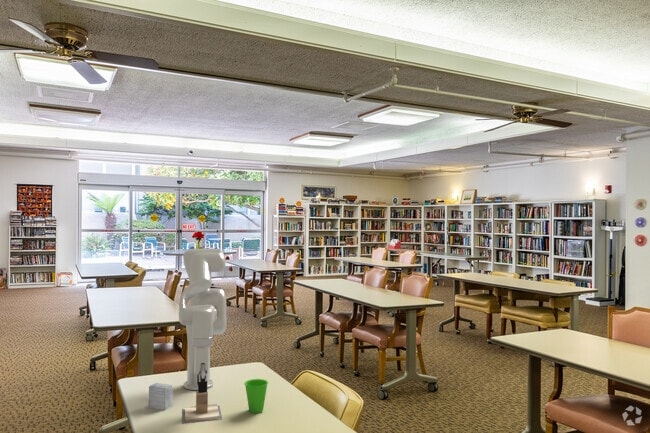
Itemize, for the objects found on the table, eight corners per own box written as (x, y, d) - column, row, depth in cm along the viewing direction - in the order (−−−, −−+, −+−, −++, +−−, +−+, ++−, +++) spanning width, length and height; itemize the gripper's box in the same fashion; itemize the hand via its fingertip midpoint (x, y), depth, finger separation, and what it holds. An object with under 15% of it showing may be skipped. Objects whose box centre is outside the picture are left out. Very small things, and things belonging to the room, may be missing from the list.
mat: (182, 410, 184) (182, 409, 184) (219, 406, 188) (219, 405, 188) (182, 425, 171) (182, 423, 171) (222, 420, 175) (222, 419, 175)
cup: (263, 417, 178) (263, 387, 178) (240, 415, 180) (240, 385, 180) (271, 408, 187) (271, 379, 187) (249, 406, 188) (249, 378, 189)
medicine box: (172, 407, 187) (172, 384, 187) (165, 411, 183) (165, 388, 183) (155, 404, 190) (156, 382, 190) (148, 408, 186) (148, 385, 186)
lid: (184, 409, 183) (185, 388, 183) (217, 406, 187) (217, 385, 187) (185, 422, 172) (185, 399, 172) (219, 418, 175) (219, 396, 175)
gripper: (191, 337, 187) (191, 382, 186) (192, 347, 170) (192, 396, 169) (211, 336, 189) (211, 380, 188) (214, 346, 172) (213, 394, 172)
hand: (202, 388), depth 179 cm, fingers open, 9 cm apart
